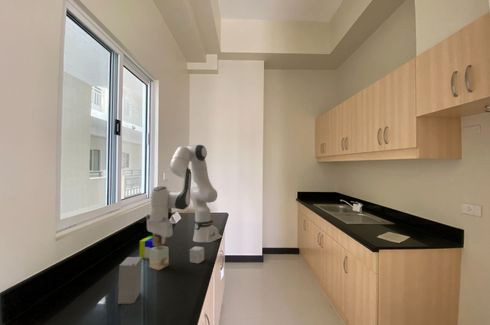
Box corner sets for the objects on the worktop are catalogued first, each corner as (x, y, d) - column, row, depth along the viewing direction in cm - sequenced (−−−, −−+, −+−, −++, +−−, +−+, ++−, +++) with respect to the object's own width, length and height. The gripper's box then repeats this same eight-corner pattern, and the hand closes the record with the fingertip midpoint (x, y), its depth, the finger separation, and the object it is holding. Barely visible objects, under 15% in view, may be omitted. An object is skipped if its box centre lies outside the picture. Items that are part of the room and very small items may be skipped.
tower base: (159, 262, 136) (159, 254, 136) (168, 265, 133) (168, 256, 133) (149, 267, 130) (149, 258, 130) (158, 270, 127) (158, 260, 127)
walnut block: (160, 243, 135) (160, 234, 135) (165, 244, 132) (165, 235, 132) (152, 245, 131) (152, 236, 131) (157, 247, 128) (157, 237, 128)
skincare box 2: (204, 260, 140) (204, 247, 140) (198, 263, 135) (198, 250, 135) (195, 258, 143) (195, 245, 143) (189, 262, 137) (189, 249, 137)
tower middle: (159, 254, 136) (159, 245, 136) (168, 256, 133) (168, 247, 133) (149, 258, 130) (149, 248, 130) (158, 260, 127) (158, 251, 127)
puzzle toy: (154, 259, 142) (154, 241, 142) (139, 257, 144) (139, 240, 144) (163, 253, 151) (163, 237, 151) (149, 251, 153) (149, 236, 153)
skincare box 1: (125, 293, 103) (125, 256, 103) (142, 293, 104) (143, 256, 104) (116, 305, 95) (117, 264, 95) (135, 304, 95) (135, 264, 96)
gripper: (175, 218, 128) (175, 244, 127) (155, 213, 141) (154, 237, 140) (165, 220, 123) (164, 247, 123) (144, 215, 136) (144, 239, 136)
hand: (159, 242), depth 132 cm, fingers closed on walnut block, 5 cm apart
